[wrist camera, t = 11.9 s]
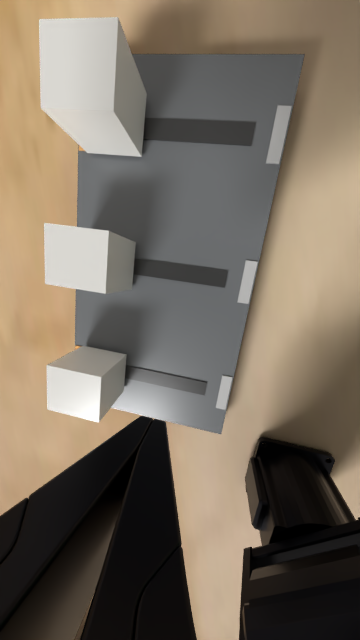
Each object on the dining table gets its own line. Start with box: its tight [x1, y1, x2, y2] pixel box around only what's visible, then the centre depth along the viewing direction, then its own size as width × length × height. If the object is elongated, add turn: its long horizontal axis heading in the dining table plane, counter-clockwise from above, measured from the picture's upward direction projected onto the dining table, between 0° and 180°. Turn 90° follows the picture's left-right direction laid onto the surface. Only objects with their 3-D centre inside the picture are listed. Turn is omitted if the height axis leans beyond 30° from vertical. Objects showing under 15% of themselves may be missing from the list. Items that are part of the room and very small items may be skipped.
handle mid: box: [44, 223, 136, 294], centre depth 14 cm, size 4×4×4 cm
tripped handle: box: [39, 17, 147, 157], centre depth 12 cm, size 4×4×4 cm
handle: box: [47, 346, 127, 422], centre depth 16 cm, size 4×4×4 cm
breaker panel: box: [75, 54, 305, 434], centre depth 16 cm, size 14×26×2 cm, turn 172°
